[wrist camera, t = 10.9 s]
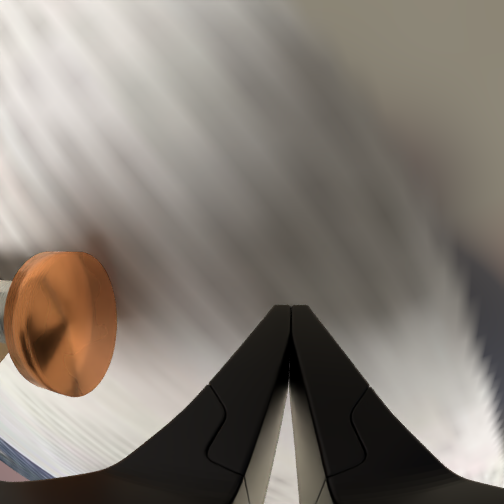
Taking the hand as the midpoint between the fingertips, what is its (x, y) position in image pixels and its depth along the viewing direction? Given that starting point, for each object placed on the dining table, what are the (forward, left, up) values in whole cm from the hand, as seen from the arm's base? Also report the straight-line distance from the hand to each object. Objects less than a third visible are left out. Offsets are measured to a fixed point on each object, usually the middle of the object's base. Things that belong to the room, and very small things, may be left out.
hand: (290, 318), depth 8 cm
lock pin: (0, +13, -1) cm, 13 cm away
